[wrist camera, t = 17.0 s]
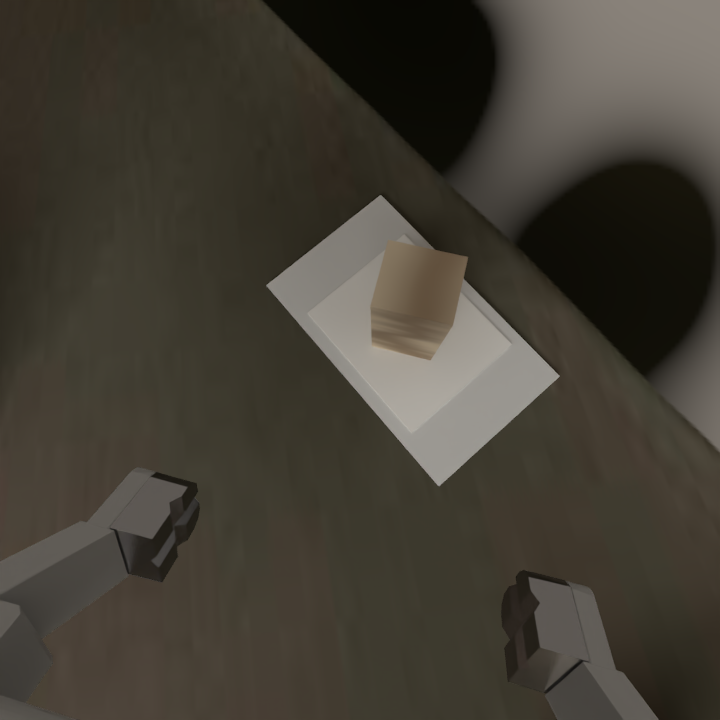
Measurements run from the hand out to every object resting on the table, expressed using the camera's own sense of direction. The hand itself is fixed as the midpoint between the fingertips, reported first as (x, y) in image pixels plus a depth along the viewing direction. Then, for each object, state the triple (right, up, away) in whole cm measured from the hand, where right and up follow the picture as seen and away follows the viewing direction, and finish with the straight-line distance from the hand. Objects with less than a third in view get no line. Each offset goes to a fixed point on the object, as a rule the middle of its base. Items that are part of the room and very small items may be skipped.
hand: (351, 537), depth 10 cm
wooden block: (+4, +7, +21) cm, 22 cm away
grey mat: (+4, +7, +21) cm, 23 cm away
